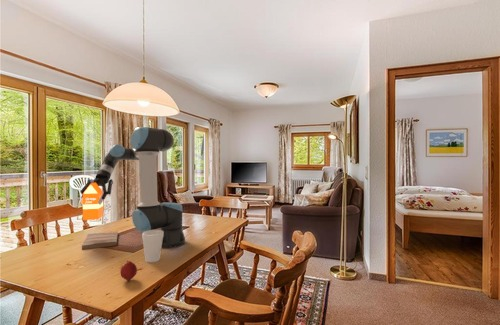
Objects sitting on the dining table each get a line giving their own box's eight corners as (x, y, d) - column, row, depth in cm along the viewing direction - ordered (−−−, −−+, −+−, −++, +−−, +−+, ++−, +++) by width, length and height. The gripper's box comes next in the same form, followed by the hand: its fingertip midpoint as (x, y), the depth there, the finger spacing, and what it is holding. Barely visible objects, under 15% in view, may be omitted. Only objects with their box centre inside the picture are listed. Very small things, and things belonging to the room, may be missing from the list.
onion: (128, 276, 102) (128, 256, 102) (140, 278, 100) (140, 258, 100) (117, 282, 96) (117, 262, 96) (129, 285, 94) (129, 264, 94)
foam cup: (155, 264, 113) (155, 236, 113) (137, 262, 115) (137, 234, 115) (166, 257, 122) (167, 230, 122) (150, 255, 124) (150, 229, 124)
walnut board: (116, 245, 138) (116, 241, 138) (81, 249, 131) (81, 245, 131) (117, 234, 157) (117, 231, 157) (87, 237, 150) (87, 234, 150)
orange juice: (103, 215, 148) (103, 182, 148) (98, 219, 139) (98, 183, 139) (88, 216, 146) (88, 182, 146) (82, 220, 137) (82, 183, 137)
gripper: (124, 177, 159) (112, 207, 143) (88, 177, 157) (73, 207, 141) (120, 169, 153) (108, 199, 138) (83, 169, 151) (67, 199, 136)
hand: (90, 203), depth 139 cm, fingers closed on orange juice, 9 cm apart
